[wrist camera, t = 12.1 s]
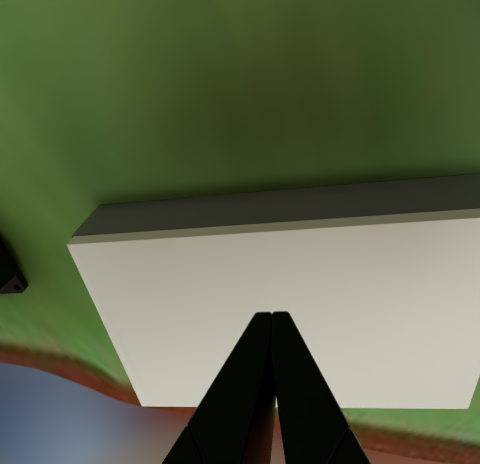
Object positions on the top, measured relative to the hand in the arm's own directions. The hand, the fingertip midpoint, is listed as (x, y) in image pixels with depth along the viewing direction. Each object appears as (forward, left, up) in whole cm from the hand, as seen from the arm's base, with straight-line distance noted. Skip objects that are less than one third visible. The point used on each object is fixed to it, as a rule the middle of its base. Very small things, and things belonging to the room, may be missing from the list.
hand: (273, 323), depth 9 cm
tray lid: (0, -9, -8) cm, 12 cm away
